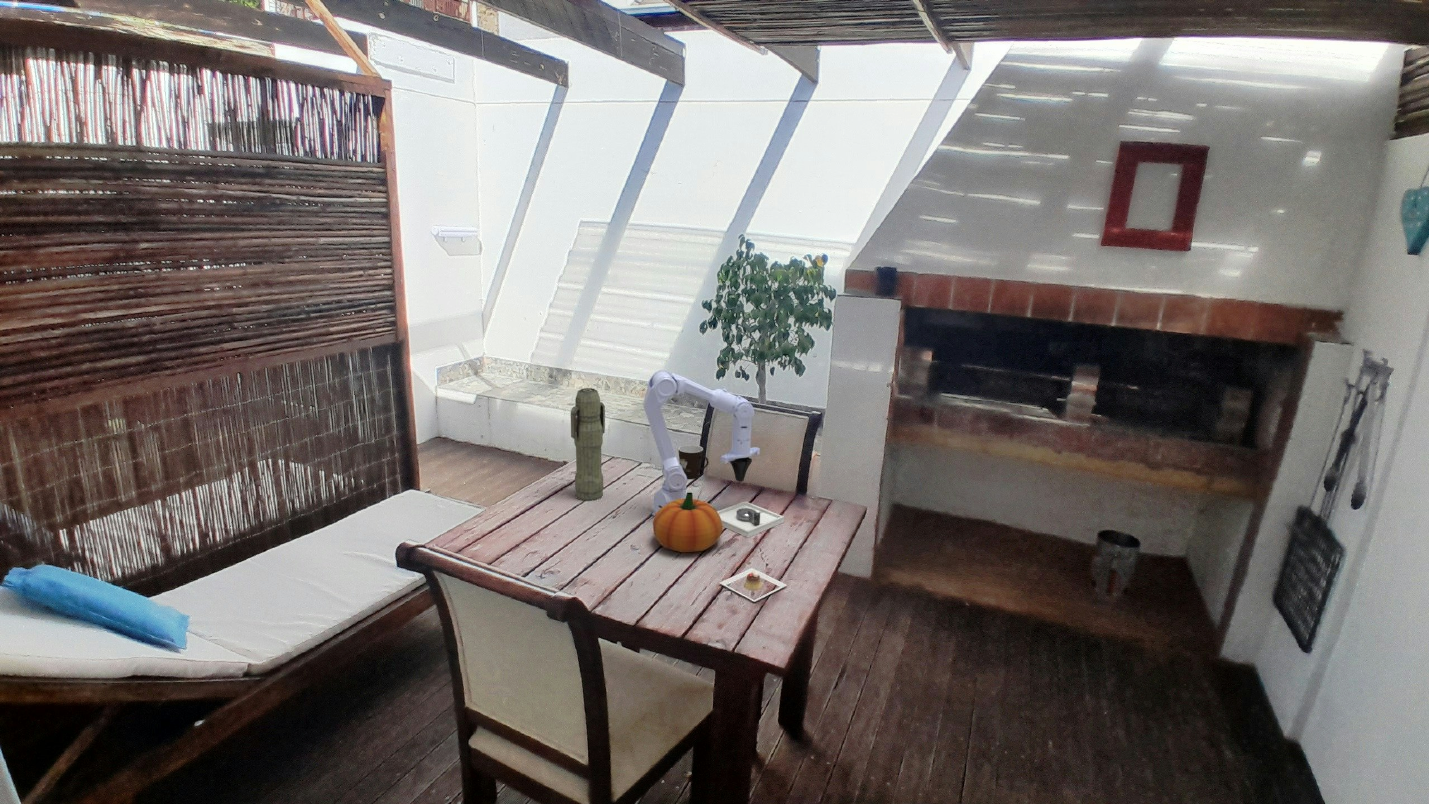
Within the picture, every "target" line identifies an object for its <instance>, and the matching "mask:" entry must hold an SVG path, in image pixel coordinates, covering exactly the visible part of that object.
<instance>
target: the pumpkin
mask: <svg viewBox="0 0 1429 804" xmlns="http://www.w3.org/2000/svg"><path fill="white" fill-rule="evenodd" d="M717 511H718V510H716V509H715V507H714V506H712V505H711V504H710V503H708V502H706V501H704V500H700V499H696V498H693V492H686V499H677V500H675V501H672V502H670V503H668V504H667V505H665V506H664V507H662V508H661V509H660V510H659V511H658V512H657V513H656V514H655V516H654V517H653V521H652V531H653V534H654V537H655V539H656V540H657V541H658V542H659V544H660V545H661V547H663V548H665V549H669V550H673V551H676V552H680V553H690V552H691V553H692V552H700V551H701V552H702V551H705V550H707V549H709V548H711V547H713V546H714V545H715V544H716V543H717V541H718V540H719V539H721V536H722V533H723V528H724V527H723V526H722V522H721V518H720V516H719V514H718V513H717Z"/></svg>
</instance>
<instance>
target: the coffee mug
mask: <svg viewBox="0 0 1429 804" xmlns="http://www.w3.org/2000/svg"><path fill="white" fill-rule="evenodd" d="M677 450H678V458H679V459H678V462H679V463H680V464H681V466H682V468H683V471H684V473H685V474H686V476H687V480H695V479H698V478H699V477H700V472H701V471H702V470H704V469H706V468H707V467H708V465H709V458H708V457H707V456H705V455H703V452H704V447H702V446H701V445H696V444H695V445H694V444H685V445H680V446H678V448H677ZM703 458H704V459H705V461H706V464H705V466H703V467H701V466H702V459H703Z"/></svg>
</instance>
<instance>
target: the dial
mask: <svg viewBox="0 0 1429 804" xmlns="http://www.w3.org/2000/svg"><path fill="white" fill-rule="evenodd" d="M736 517H737V518H738V519H740V520H745V521H751V522H753V523H754V525H759V524H760V513H758V512H756V511H755V510H753V509H749V508H742V509H739V510H737V513H736Z"/></svg>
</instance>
